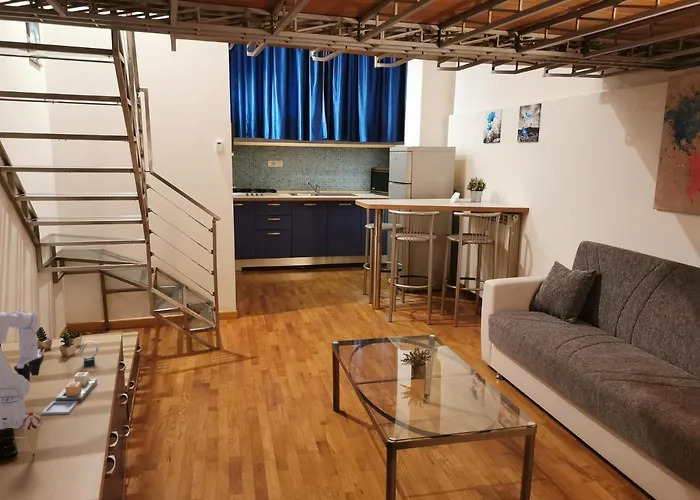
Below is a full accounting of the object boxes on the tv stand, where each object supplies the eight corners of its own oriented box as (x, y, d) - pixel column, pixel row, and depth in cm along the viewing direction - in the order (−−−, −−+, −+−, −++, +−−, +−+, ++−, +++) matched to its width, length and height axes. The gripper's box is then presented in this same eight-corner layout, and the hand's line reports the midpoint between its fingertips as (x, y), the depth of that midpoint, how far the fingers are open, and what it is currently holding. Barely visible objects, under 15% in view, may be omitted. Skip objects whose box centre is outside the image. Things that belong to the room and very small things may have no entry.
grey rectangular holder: (81, 403, 199) (81, 396, 199) (55, 403, 198) (55, 397, 197) (97, 383, 217) (97, 378, 216) (74, 384, 215) (73, 378, 215)
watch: (79, 363, 237) (78, 340, 236) (98, 361, 241) (98, 338, 239) (79, 367, 232) (78, 344, 231) (99, 365, 236) (98, 342, 234)
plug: (77, 401, 201) (76, 385, 200) (66, 401, 200) (65, 386, 199) (81, 396, 205) (80, 381, 204) (70, 396, 204) (69, 381, 203)
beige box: (85, 390, 210) (84, 375, 209) (75, 390, 210) (74, 375, 209) (89, 385, 214) (88, 371, 213) (78, 386, 214) (78, 371, 213)
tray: (68, 414, 190) (68, 411, 189) (41, 415, 188) (41, 412, 188) (77, 403, 198) (77, 400, 198) (52, 404, 197) (52, 401, 197)
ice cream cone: (40, 450, 166) (37, 406, 163) (47, 457, 162) (45, 412, 160) (20, 457, 161) (17, 412, 159) (27, 465, 158) (24, 418, 156)
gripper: (30, 351, 186) (33, 387, 189) (48, 338, 201) (50, 371, 203) (9, 351, 185) (11, 387, 188) (28, 338, 200) (30, 371, 202)
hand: (30, 379), depth 195 cm, fingers open, 7 cm apart
